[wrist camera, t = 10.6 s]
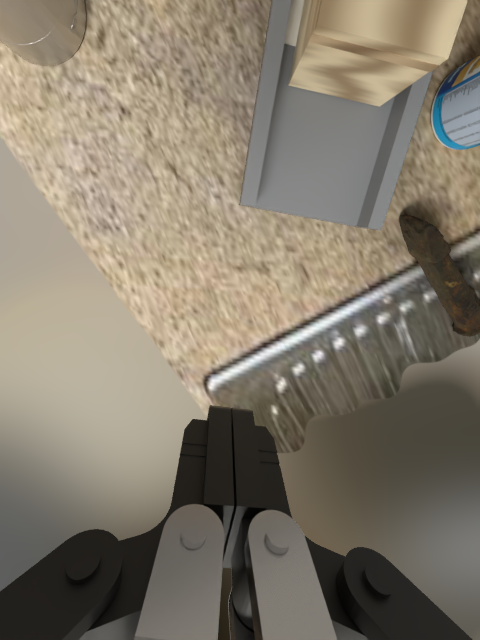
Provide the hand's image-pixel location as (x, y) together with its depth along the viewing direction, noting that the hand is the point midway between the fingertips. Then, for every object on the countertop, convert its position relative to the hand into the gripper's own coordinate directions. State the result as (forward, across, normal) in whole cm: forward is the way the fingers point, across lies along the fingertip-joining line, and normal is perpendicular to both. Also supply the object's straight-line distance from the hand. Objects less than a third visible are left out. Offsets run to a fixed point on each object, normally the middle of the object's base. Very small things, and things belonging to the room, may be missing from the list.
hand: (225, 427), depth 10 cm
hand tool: (+29, -27, -4) cm, 40 cm away
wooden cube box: (+27, -8, -24) cm, 37 cm away
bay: (+29, -8, -19) cm, 35 cm away
